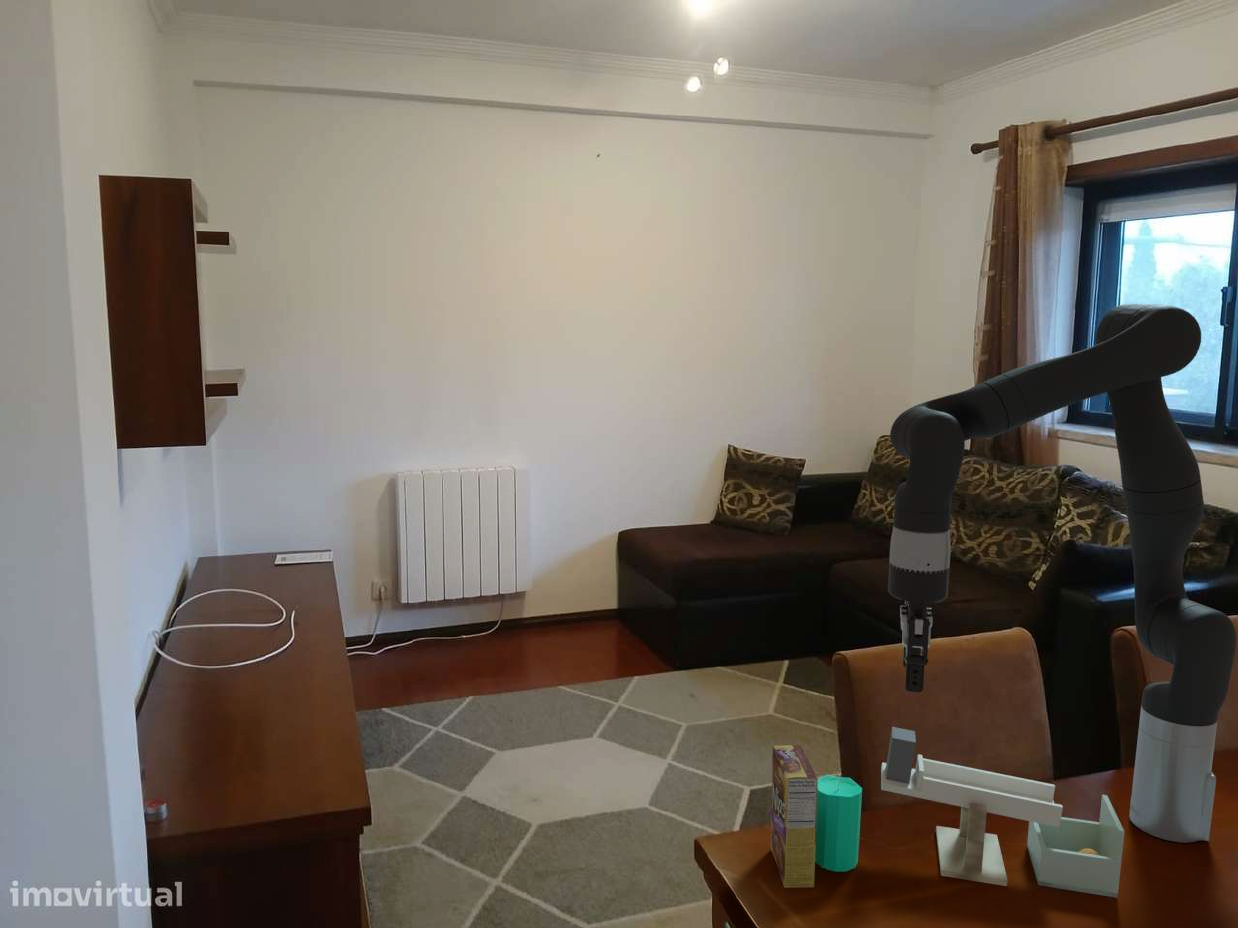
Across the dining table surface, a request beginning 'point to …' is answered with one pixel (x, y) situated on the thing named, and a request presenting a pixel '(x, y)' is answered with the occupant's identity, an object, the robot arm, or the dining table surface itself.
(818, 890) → the dining table surface
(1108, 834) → the cup
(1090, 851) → the ball
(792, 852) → the candy box
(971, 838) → the lever stand
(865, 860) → the dining table surface
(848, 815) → the candle
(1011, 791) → the board
